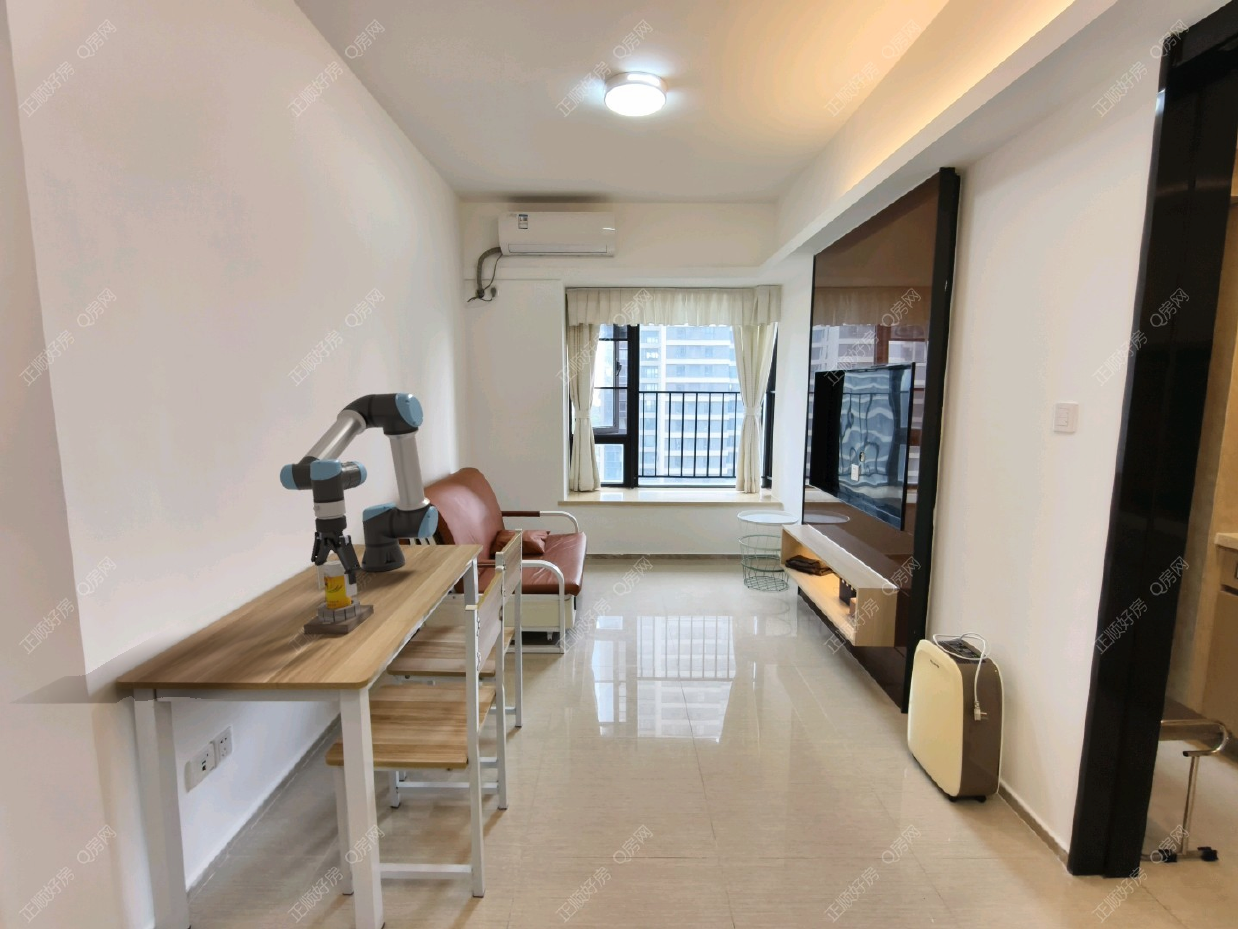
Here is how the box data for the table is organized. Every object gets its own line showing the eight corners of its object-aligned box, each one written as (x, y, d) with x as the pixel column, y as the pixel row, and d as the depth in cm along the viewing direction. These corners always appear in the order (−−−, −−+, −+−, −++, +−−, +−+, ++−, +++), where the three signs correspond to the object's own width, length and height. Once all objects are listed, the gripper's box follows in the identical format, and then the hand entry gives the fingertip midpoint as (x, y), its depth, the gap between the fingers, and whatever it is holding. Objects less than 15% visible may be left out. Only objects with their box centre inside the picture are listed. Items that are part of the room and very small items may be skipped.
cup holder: (333, 613, 161) (332, 595, 160) (373, 613, 160) (372, 594, 160) (304, 634, 147) (302, 614, 146) (348, 633, 146) (346, 613, 146)
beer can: (323, 616, 152) (318, 563, 151) (344, 608, 158) (339, 557, 156) (335, 620, 149) (330, 566, 148) (356, 612, 154) (352, 560, 153)
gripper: (292, 514, 154) (300, 588, 156) (343, 523, 140) (350, 603, 143) (319, 509, 160) (326, 580, 162) (370, 517, 146) (376, 594, 149)
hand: (337, 591), depth 153 cm, fingers open, 13 cm apart
